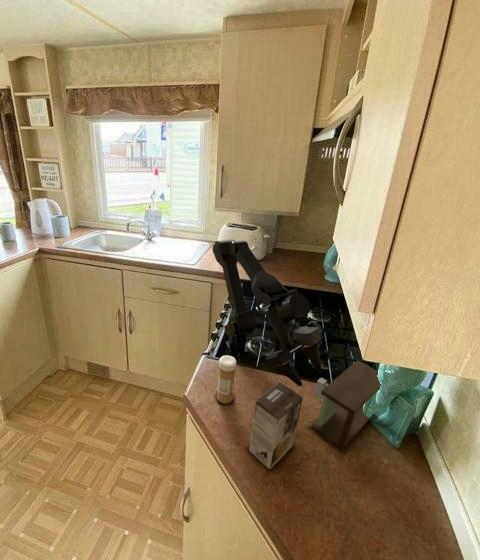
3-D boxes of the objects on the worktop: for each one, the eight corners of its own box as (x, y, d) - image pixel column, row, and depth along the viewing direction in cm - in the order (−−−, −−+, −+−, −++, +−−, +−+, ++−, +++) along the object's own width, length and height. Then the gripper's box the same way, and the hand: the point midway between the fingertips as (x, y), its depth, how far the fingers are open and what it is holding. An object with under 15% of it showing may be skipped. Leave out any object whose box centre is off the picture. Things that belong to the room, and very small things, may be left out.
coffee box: (270, 429, 80) (279, 380, 73) (292, 447, 75) (304, 396, 68) (247, 450, 74) (254, 399, 67) (269, 470, 70) (280, 418, 63)
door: (303, 414, 82) (310, 385, 78) (320, 400, 87) (327, 372, 82) (320, 427, 79) (328, 397, 75) (336, 411, 83) (345, 382, 79)
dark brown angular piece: (311, 428, 80) (321, 390, 75) (346, 396, 90) (357, 360, 85) (341, 451, 75) (354, 411, 69) (374, 413, 85) (388, 376, 79)
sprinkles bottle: (235, 398, 89) (240, 360, 83) (225, 406, 86) (228, 368, 80) (223, 389, 92) (226, 352, 86) (213, 397, 89) (215, 359, 83)
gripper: (281, 327, 74) (314, 390, 71) (324, 304, 84) (354, 358, 81) (252, 339, 82) (281, 395, 79) (294, 317, 93) (321, 366, 90)
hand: (311, 378), depth 82 cm, fingers open, 9 cm apart
